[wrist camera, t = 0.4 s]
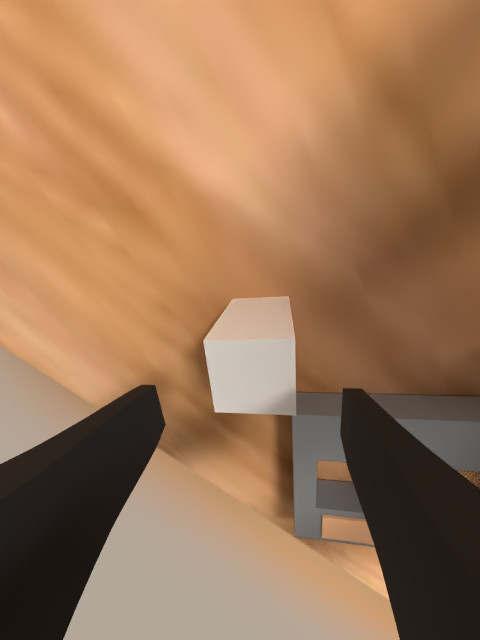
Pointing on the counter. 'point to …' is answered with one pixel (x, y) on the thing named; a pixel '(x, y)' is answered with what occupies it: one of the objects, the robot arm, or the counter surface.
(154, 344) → the counter surface
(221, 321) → the plug
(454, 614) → the robot arm
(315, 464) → the socket board
